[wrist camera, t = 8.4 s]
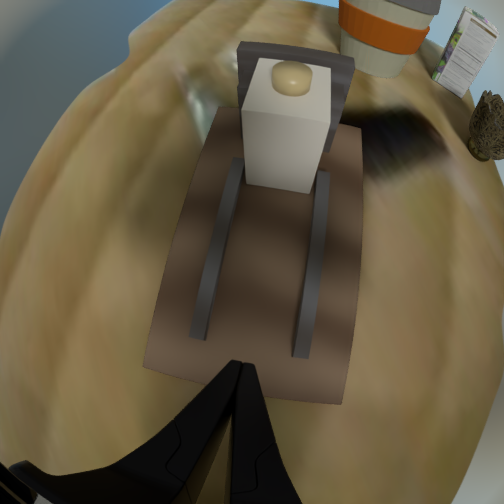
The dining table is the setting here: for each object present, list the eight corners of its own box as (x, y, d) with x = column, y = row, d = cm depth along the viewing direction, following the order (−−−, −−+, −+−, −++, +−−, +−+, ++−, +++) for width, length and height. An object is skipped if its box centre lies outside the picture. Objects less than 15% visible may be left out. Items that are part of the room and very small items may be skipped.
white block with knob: (309, 194, 22) (334, 108, 13) (246, 183, 22) (240, 94, 13) (314, 138, 24) (333, 55, 15) (259, 129, 24) (259, 44, 15)
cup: (445, 136, 26) (475, 92, 18) (467, 124, 27) (493, 86, 19) (484, 185, 24) (523, 148, 16) (502, 166, 25) (534, 133, 17)
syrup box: (434, 67, 31) (463, 3, 17) (463, 86, 30) (496, 26, 16) (430, 79, 30) (463, 8, 16) (462, 100, 29) (501, 34, 15)
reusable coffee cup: (383, 43, 33) (404, -28, 18) (426, 89, 29) (464, 9, 14) (314, 37, 32) (324, -46, 18) (351, 84, 28) (379, -21, 14)
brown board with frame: (337, 402, 18) (390, 435, 9) (147, 366, 19) (79, 373, 10) (358, 135, 25) (385, 65, 17) (219, 113, 26) (209, 40, 18)
